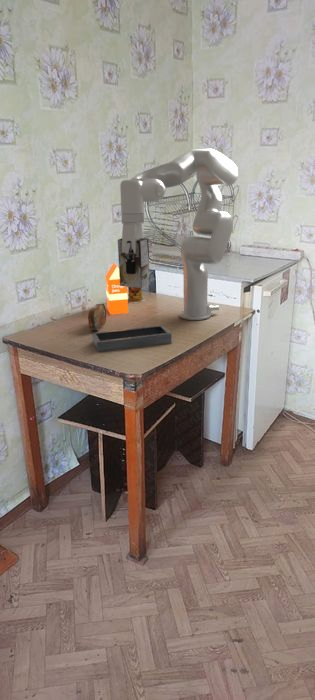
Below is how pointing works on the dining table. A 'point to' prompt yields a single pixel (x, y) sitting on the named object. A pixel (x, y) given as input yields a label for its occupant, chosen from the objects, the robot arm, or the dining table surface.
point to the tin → (97, 317)
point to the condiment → (135, 295)
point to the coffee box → (142, 265)
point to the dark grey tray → (131, 338)
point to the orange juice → (116, 292)
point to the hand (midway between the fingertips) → (134, 271)
